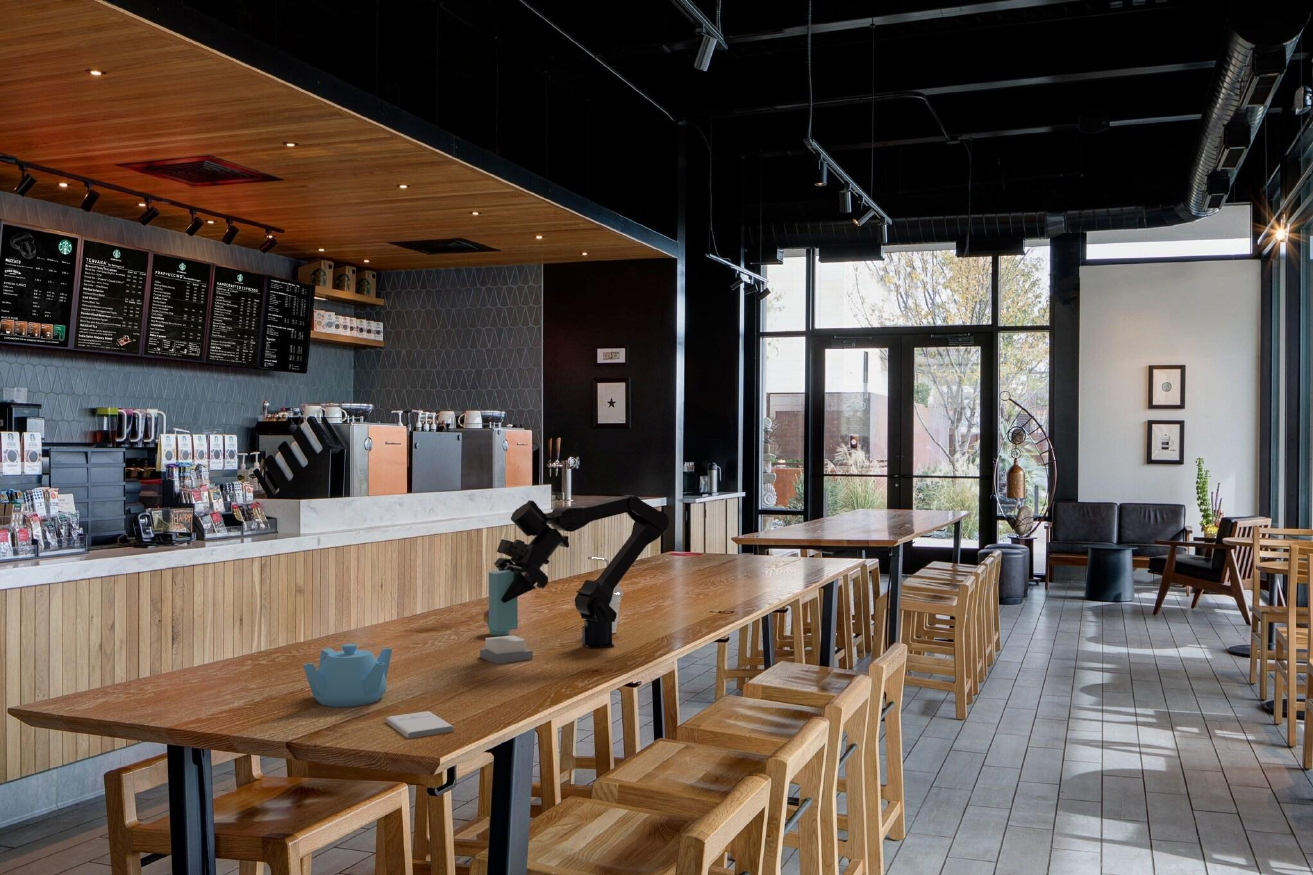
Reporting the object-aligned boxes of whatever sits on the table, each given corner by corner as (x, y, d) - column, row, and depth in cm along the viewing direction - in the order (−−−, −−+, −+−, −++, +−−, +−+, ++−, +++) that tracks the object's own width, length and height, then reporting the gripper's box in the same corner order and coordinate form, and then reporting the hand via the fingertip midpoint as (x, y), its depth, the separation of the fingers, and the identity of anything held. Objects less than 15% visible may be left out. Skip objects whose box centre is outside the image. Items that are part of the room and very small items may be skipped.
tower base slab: (514, 655, 252) (514, 644, 252) (532, 661, 245) (532, 650, 245) (480, 659, 247) (480, 648, 247) (497, 666, 240) (497, 655, 240)
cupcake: (499, 638, 271) (498, 591, 271) (476, 634, 276) (475, 588, 276) (523, 633, 278) (522, 587, 278) (500, 629, 283) (499, 584, 283)
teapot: (396, 689, 216) (396, 636, 216) (385, 708, 201) (385, 651, 201) (318, 691, 214) (318, 638, 214) (302, 710, 199) (301, 653, 199)
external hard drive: (408, 742, 180) (385, 725, 191) (454, 734, 184) (430, 718, 195) (407, 732, 180) (385, 716, 191) (454, 725, 184) (430, 709, 195)
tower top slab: (513, 645, 251) (513, 635, 251) (525, 650, 245) (525, 640, 245) (485, 648, 247) (485, 638, 247) (497, 653, 241) (497, 642, 241)
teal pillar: (508, 625, 250) (508, 570, 250) (517, 628, 246) (517, 573, 246) (489, 627, 248) (488, 572, 247) (497, 631, 244) (497, 574, 243)
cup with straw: (620, 635, 274) (620, 557, 274) (586, 634, 275) (586, 557, 275) (626, 629, 282) (626, 554, 282) (593, 628, 284) (593, 553, 284)
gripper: (501, 524, 257) (458, 573, 251) (535, 529, 241) (491, 582, 235) (531, 554, 261) (490, 603, 255) (566, 561, 245) (523, 614, 239)
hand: (497, 600), depth 246 cm, fingers closed on teal pillar, 5 cm apart
